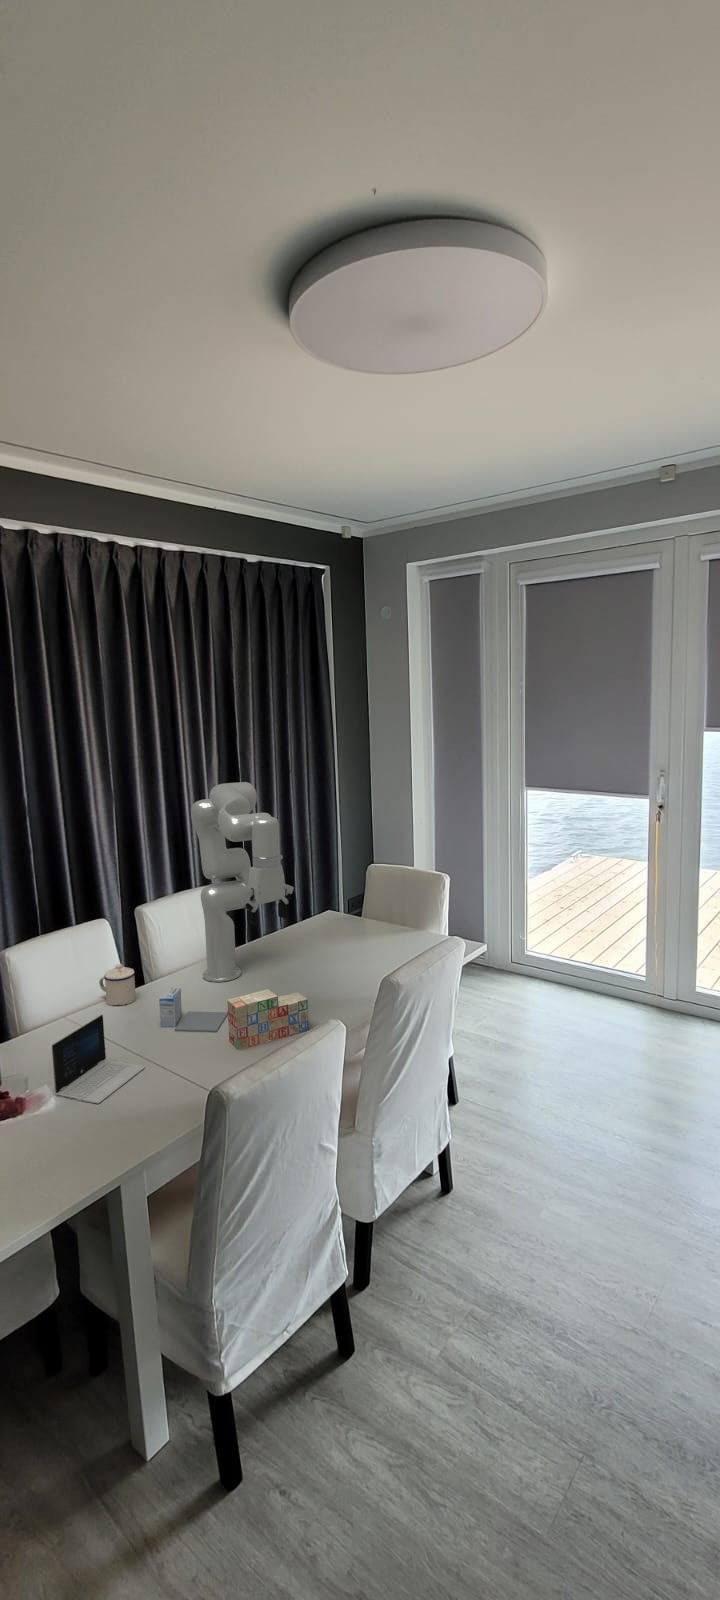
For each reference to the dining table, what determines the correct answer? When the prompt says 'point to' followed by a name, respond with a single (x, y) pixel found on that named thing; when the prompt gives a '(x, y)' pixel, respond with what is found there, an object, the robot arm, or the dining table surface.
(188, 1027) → the mat
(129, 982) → the teacup with lid
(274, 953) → the dining table surface
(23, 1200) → the dining table surface
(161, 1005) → the medicine box
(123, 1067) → the laptop
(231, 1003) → the stack of blocks
